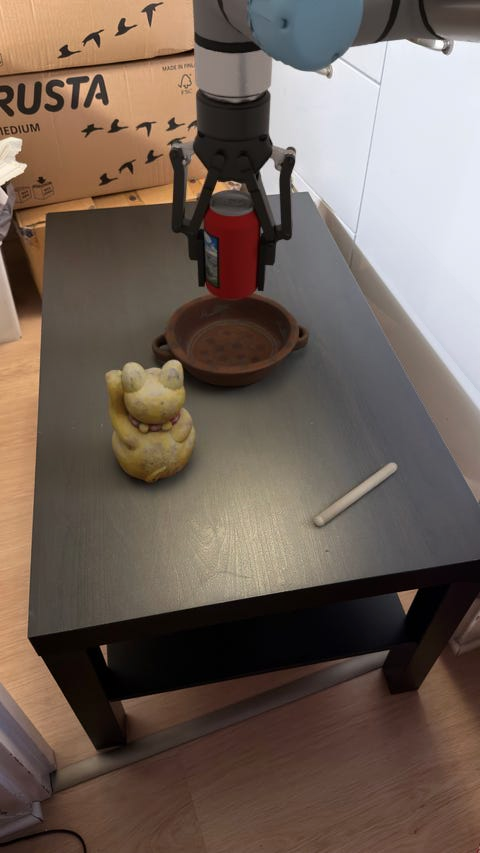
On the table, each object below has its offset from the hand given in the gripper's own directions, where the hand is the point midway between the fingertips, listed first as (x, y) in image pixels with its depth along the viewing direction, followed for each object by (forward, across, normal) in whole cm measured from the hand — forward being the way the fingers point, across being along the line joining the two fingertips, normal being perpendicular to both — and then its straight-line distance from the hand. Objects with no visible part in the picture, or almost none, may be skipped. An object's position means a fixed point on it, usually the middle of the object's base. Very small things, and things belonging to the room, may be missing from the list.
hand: (232, 282), depth 79 cm
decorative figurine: (+13, +7, +21) cm, 25 cm away
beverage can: (+1, 0, 0) cm, 1 cm away
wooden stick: (+12, -17, +23) cm, 31 cm away
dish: (+13, 0, 0) cm, 13 cm away
